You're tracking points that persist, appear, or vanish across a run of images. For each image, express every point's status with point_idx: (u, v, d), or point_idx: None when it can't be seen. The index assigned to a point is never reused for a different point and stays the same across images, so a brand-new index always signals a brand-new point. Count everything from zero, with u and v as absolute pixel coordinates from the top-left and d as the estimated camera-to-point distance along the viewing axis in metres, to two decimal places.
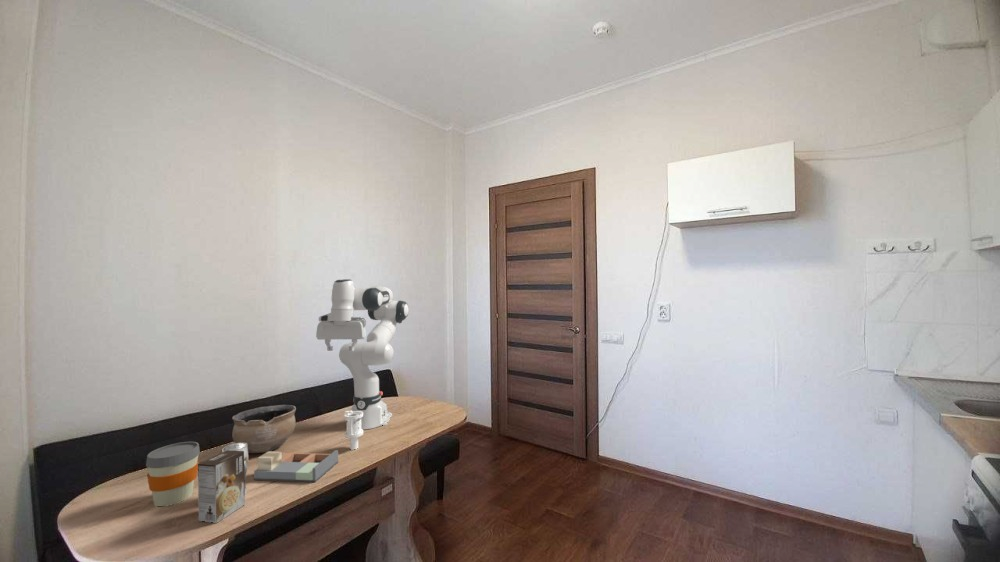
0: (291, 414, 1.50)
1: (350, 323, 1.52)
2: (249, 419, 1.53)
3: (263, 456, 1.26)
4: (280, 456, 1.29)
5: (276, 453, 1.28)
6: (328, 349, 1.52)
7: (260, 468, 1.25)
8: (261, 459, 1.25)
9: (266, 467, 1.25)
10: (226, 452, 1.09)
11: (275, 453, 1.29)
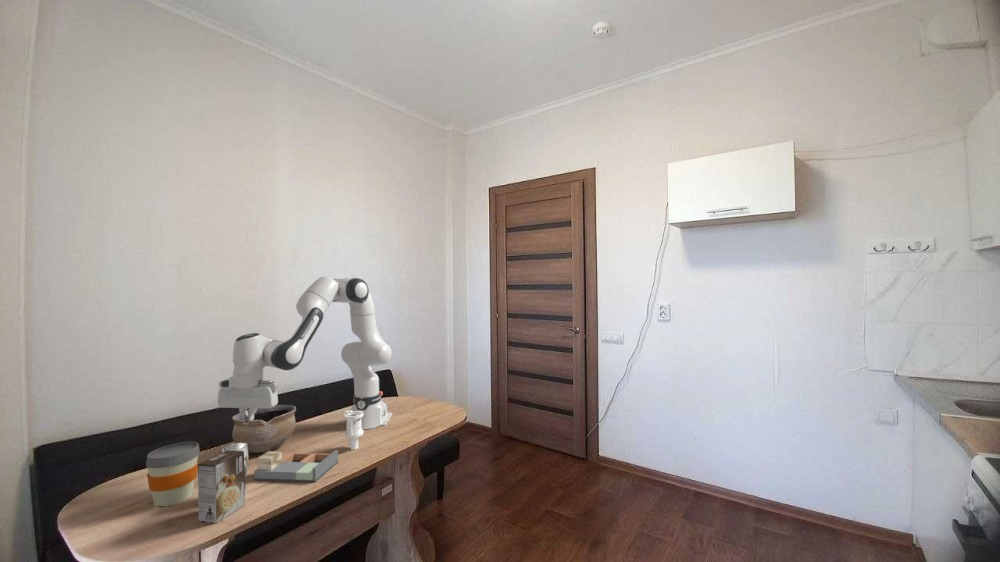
0: (291, 414, 1.50)
1: (256, 389, 1.27)
2: None
3: (263, 456, 1.26)
4: (280, 456, 1.29)
5: (276, 453, 1.28)
6: (244, 419, 1.28)
7: (260, 468, 1.25)
8: (261, 459, 1.25)
9: (266, 467, 1.25)
10: (226, 452, 1.09)
11: (275, 453, 1.29)
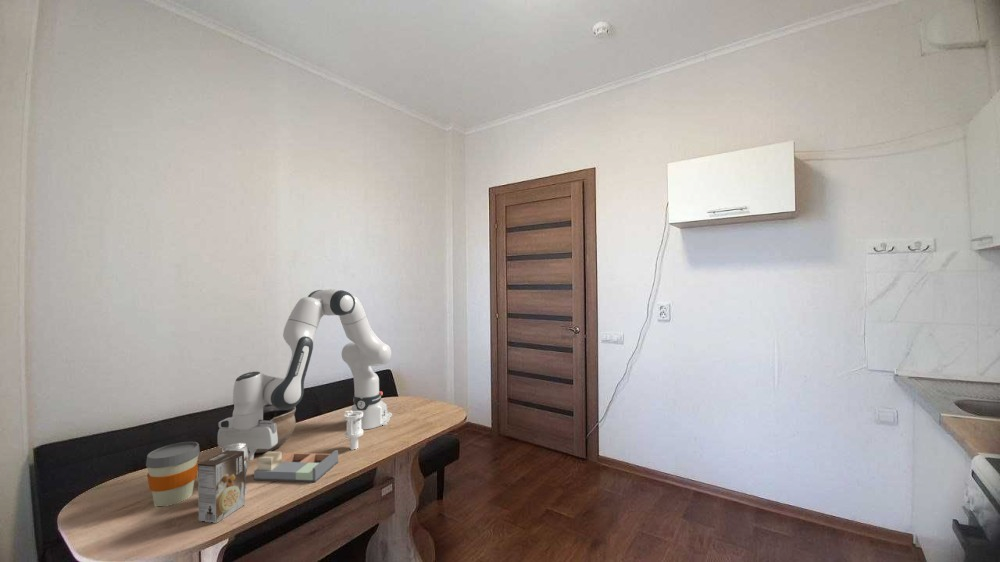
0: (291, 414, 1.50)
1: (256, 429, 1.26)
2: None
3: (263, 456, 1.26)
4: (280, 456, 1.29)
5: (276, 453, 1.28)
6: None
7: (260, 468, 1.25)
8: (261, 459, 1.25)
9: (266, 467, 1.25)
10: (226, 452, 1.09)
11: (275, 453, 1.29)
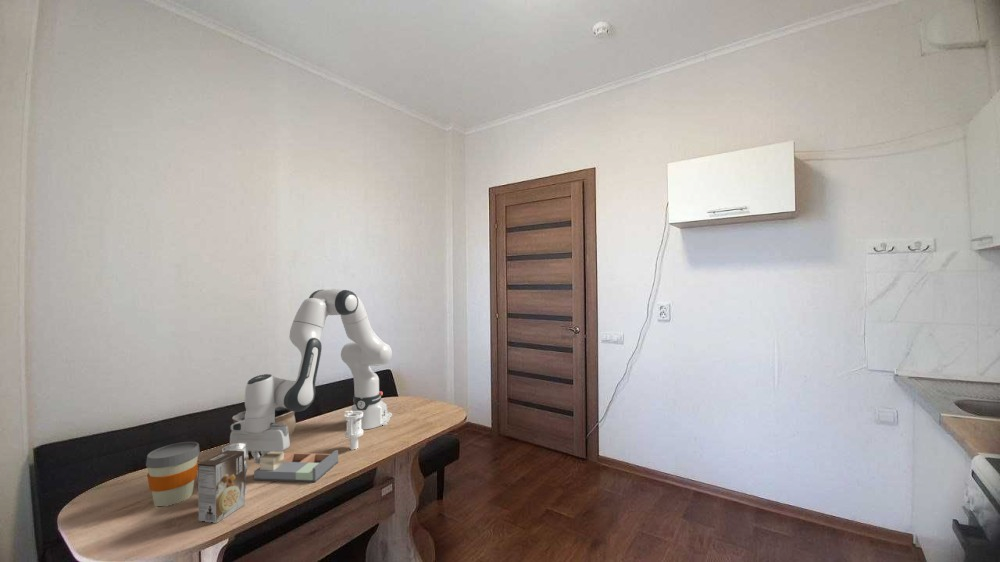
0: (291, 414, 1.50)
1: (268, 432, 1.26)
2: None
3: (265, 456, 1.26)
4: (282, 456, 1.29)
5: (278, 453, 1.28)
6: (256, 462, 1.27)
7: (262, 468, 1.25)
8: (263, 459, 1.25)
9: (269, 468, 1.25)
10: (226, 452, 1.09)
11: (278, 453, 1.29)
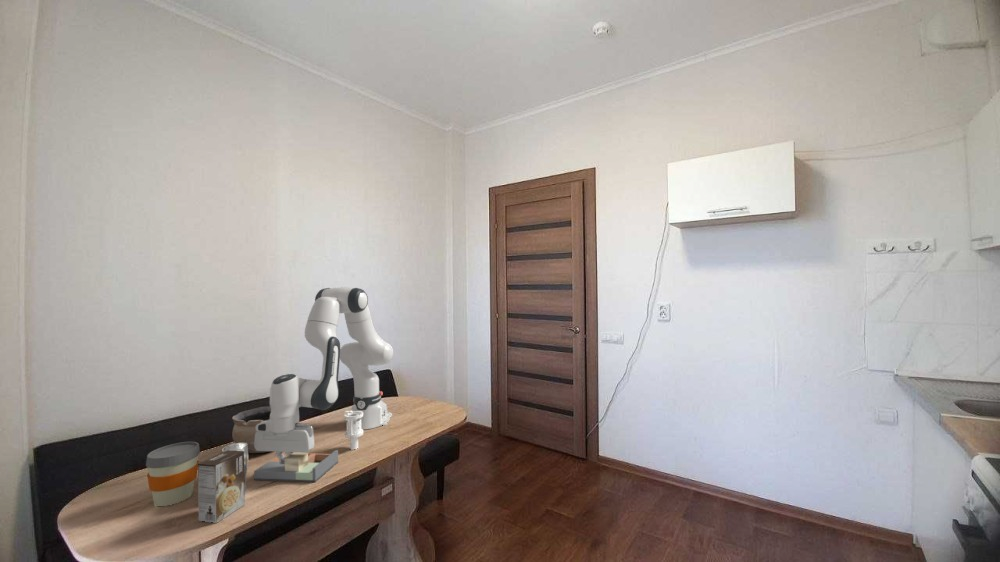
0: None
1: (294, 433, 1.25)
2: (249, 419, 1.53)
3: (290, 457, 1.25)
4: (307, 457, 1.28)
5: (303, 454, 1.27)
6: (280, 462, 1.26)
7: (287, 469, 1.24)
8: (288, 460, 1.24)
9: (294, 469, 1.24)
10: (226, 452, 1.09)
11: (302, 454, 1.27)
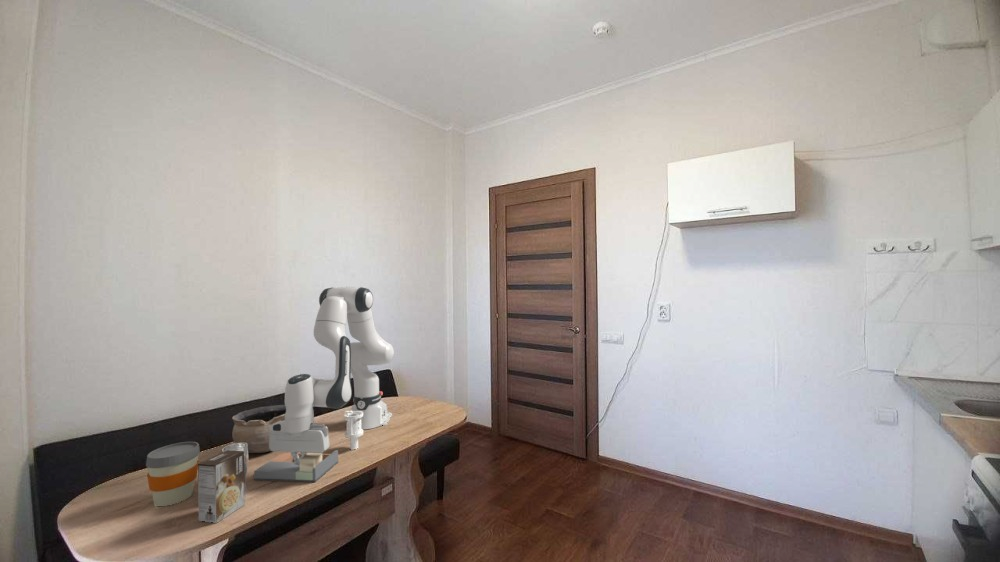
0: None
1: (309, 433, 1.24)
2: (249, 419, 1.53)
3: (305, 458, 1.24)
4: (321, 458, 1.27)
5: (317, 455, 1.26)
6: (295, 463, 1.25)
7: (302, 470, 1.23)
8: (303, 461, 1.23)
9: (308, 469, 1.23)
10: (226, 452, 1.09)
11: (316, 454, 1.27)
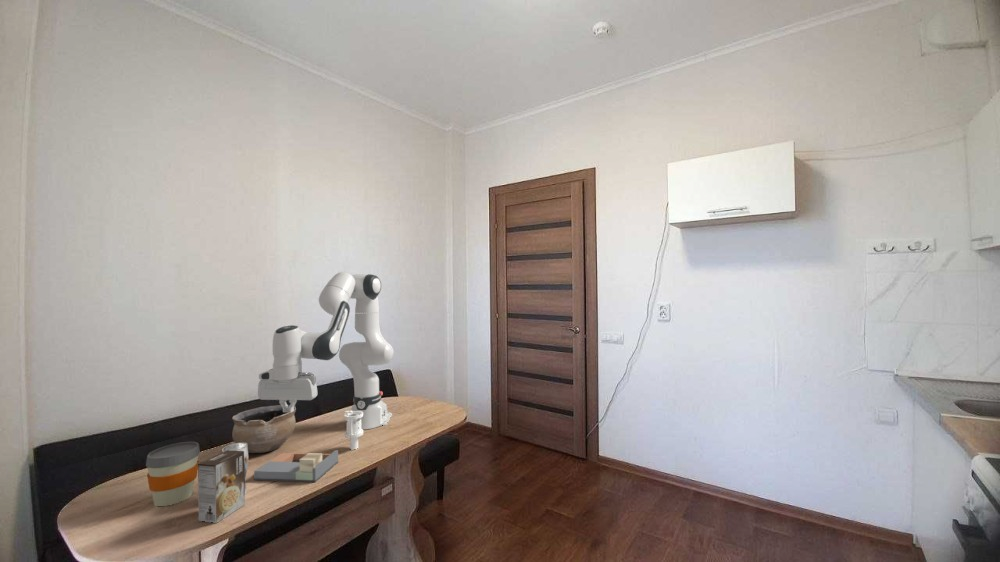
0: (291, 414, 1.50)
1: (297, 381, 1.27)
2: (249, 419, 1.53)
3: (305, 458, 1.24)
4: (321, 458, 1.27)
5: (317, 455, 1.26)
6: (284, 411, 1.28)
7: (302, 470, 1.23)
8: (303, 461, 1.23)
9: (308, 469, 1.23)
10: (226, 452, 1.09)
11: (316, 454, 1.27)
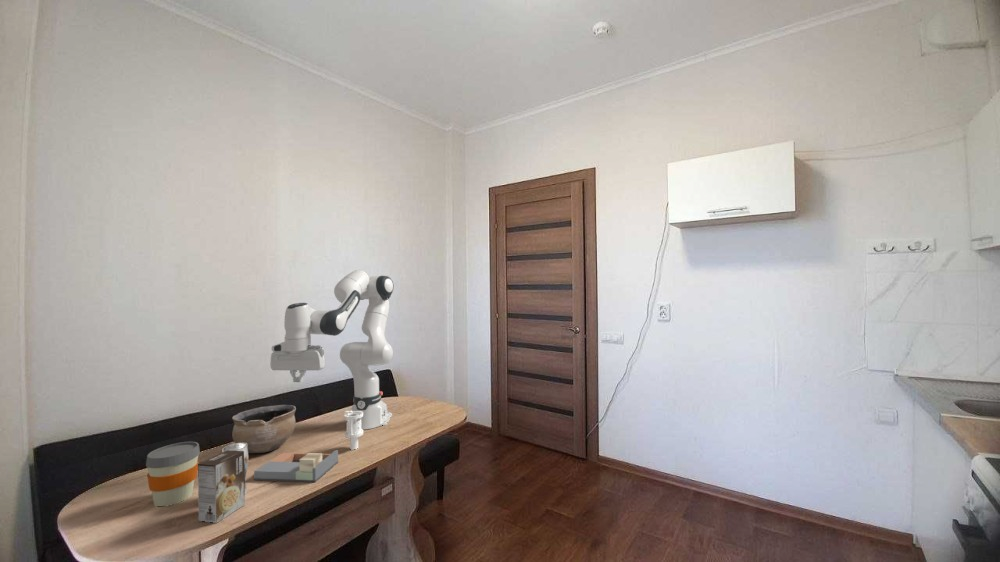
0: (291, 414, 1.50)
1: (306, 353, 1.38)
2: (249, 419, 1.53)
3: (305, 458, 1.24)
4: (321, 458, 1.27)
5: (317, 455, 1.26)
6: (294, 380, 1.40)
7: (302, 470, 1.23)
8: (303, 461, 1.23)
9: (308, 469, 1.23)
10: (226, 452, 1.09)
11: (316, 454, 1.27)
